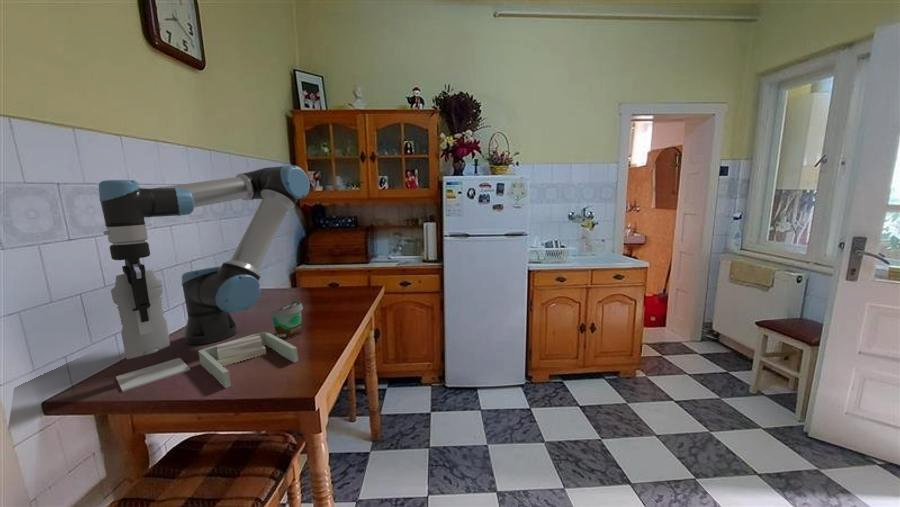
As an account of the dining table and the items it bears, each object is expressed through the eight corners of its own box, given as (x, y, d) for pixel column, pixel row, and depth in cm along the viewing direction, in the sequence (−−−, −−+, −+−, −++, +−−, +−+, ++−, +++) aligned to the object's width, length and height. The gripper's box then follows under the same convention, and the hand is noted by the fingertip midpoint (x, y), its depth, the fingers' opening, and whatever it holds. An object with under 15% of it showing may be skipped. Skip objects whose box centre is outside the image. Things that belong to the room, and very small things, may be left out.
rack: (200, 364, 104) (198, 350, 103) (267, 342, 117) (265, 330, 117) (225, 388, 90) (223, 372, 89) (298, 361, 103) (296, 347, 102)
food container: (291, 341, 117) (287, 311, 116) (274, 341, 119) (270, 311, 117) (312, 327, 129) (309, 299, 128) (297, 327, 130) (293, 299, 129)
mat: (116, 378, 98) (115, 376, 98) (180, 359, 108) (179, 357, 108) (122, 392, 90) (122, 390, 90) (190, 370, 100) (189, 368, 100)
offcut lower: (215, 362, 106) (214, 354, 105) (261, 349, 113) (260, 342, 113) (219, 369, 101) (218, 361, 101) (266, 355, 109) (265, 347, 108)
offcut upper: (218, 353, 106) (216, 345, 106) (260, 343, 112) (259, 335, 111) (218, 359, 102) (217, 350, 101) (262, 348, 108) (261, 340, 107)
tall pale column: (127, 361, 93) (111, 275, 89) (120, 358, 95) (104, 274, 91) (175, 345, 102) (162, 267, 98) (168, 342, 104) (155, 265, 100)
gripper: (105, 242, 96) (121, 329, 100) (113, 246, 85) (131, 343, 89) (142, 239, 101) (156, 321, 105) (154, 242, 90) (170, 334, 94)
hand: (145, 331), depth 97 cm, fingers closed on tall pale column, 3 cm apart
